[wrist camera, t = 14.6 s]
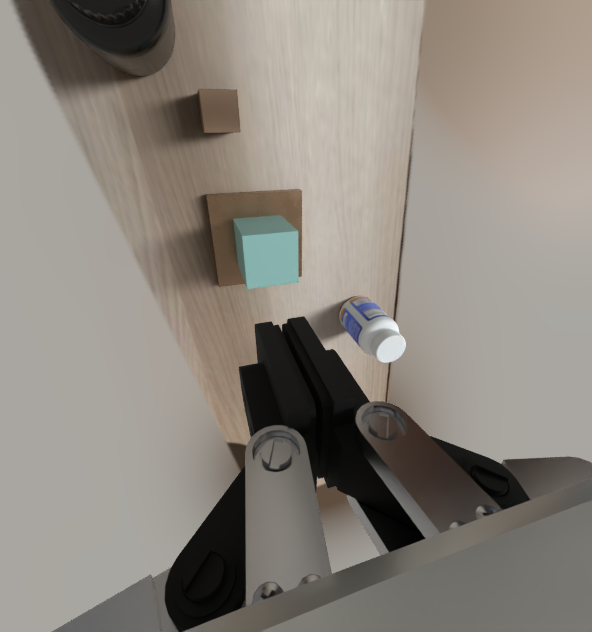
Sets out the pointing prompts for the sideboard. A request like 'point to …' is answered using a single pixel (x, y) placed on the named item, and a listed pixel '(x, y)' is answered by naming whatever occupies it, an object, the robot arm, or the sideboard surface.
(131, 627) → the robot arm
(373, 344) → the pill bottle
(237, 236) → the teal rectangular block
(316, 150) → the sideboard surface
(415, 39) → the sideboard surface
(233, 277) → the brown square base
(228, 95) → the tan cardboard cube
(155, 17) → the supplement bottle
